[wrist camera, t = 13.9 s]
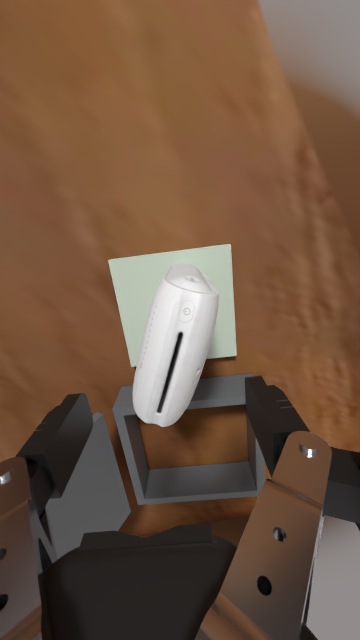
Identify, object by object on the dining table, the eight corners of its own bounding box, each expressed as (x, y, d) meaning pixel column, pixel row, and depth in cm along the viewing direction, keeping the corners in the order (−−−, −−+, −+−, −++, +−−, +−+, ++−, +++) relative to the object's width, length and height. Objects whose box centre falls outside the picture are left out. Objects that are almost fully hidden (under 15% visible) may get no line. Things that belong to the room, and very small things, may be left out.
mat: (132, 363, 28) (131, 366, 27) (110, 259, 24) (108, 260, 23) (235, 352, 27) (236, 355, 27) (229, 243, 23) (230, 244, 23)
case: (143, 475, 34) (137, 505, 30) (121, 386, 29) (112, 408, 25) (255, 466, 33) (265, 495, 29) (253, 373, 28) (264, 394, 24)
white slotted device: (167, 256, 23) (152, 275, 11) (210, 267, 23) (237, 297, 12) (146, 348, 26) (116, 436, 15) (183, 357, 27) (183, 450, 15)
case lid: (131, 511, 29) (121, 505, 30) (103, 414, 25) (93, 410, 25) (-21, 733, 17) (-30, 712, 18) (-140, 623, 12) (-145, 601, 13)
